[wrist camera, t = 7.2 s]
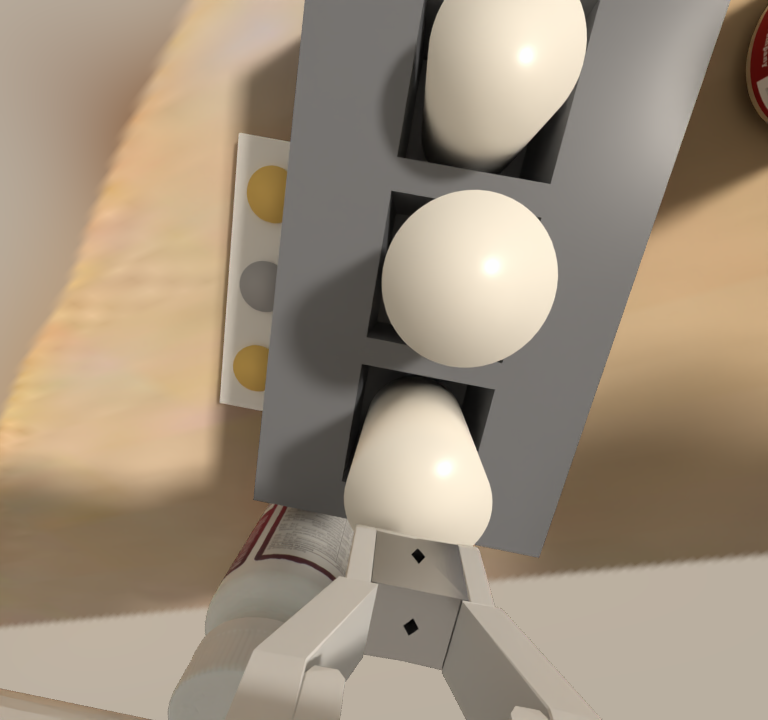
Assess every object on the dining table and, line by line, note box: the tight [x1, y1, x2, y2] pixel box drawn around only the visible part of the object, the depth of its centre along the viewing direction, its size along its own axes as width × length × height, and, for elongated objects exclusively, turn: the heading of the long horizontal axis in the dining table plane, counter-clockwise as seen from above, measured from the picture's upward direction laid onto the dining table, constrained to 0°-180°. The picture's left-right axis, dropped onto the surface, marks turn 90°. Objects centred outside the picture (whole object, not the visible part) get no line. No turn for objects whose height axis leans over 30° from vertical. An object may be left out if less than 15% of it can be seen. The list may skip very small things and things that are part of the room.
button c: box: [344, 376, 492, 546], centre depth 14 cm, size 4×4×6 cm
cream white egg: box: [382, 190, 558, 368], centre depth 12 cm, size 4×4×6 cm
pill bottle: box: [168, 503, 354, 720], centre depth 17 cm, size 6×6×11 cm
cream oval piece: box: [421, 0, 587, 175], centre depth 13 cm, size 4×4×6 cm
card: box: [220, 133, 290, 411], centre depth 19 cm, size 4×14×1 cm, turn 170°
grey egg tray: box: [253, 0, 730, 558], centre depth 16 cm, size 13×22×6 cm, turn 170°
